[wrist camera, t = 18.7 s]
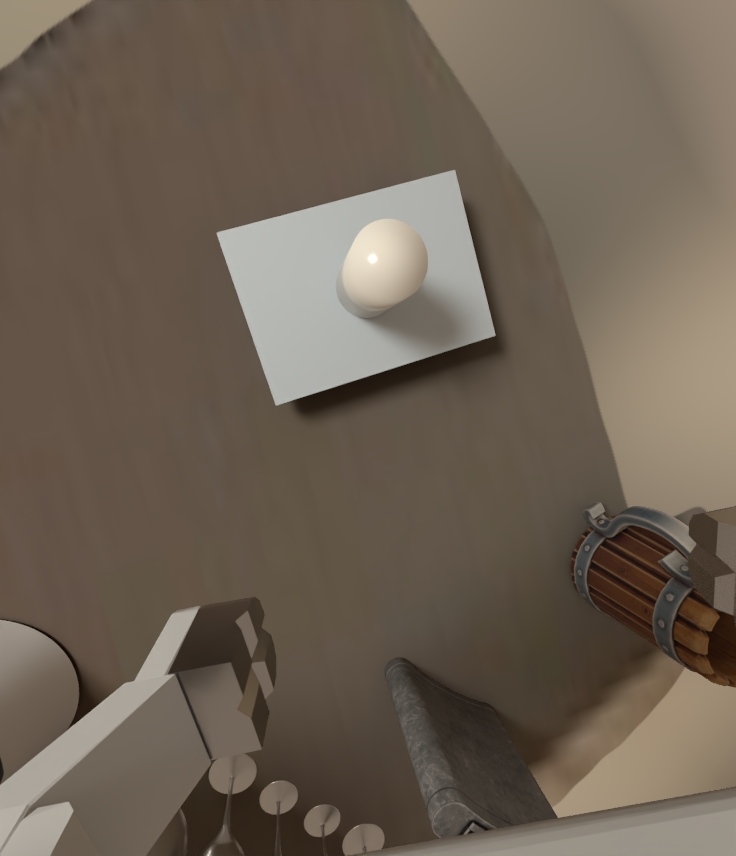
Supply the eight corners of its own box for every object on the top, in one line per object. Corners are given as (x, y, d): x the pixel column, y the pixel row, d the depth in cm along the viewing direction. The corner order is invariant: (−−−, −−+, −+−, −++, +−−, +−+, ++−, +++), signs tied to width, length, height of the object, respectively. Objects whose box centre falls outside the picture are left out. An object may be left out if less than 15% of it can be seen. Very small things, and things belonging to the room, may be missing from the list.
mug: (665, 570, 50) (819, 652, 36) (590, 622, 49) (716, 729, 35) (611, 456, 47) (755, 495, 32) (530, 509, 46) (640, 574, 32)
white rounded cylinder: (346, 325, 37) (363, 311, 28) (327, 264, 36) (339, 230, 27) (402, 308, 37) (437, 289, 28) (385, 248, 36) (415, 209, 28)
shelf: (277, 402, 40) (275, 405, 37) (224, 246, 38) (216, 232, 34) (477, 338, 43) (495, 335, 39) (438, 189, 40) (454, 169, 37)
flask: (479, 736, 49) (586, 943, 31) (374, 682, 46) (427, 877, 28) (498, 709, 49) (615, 900, 31) (394, 653, 46) (459, 829, 28)
